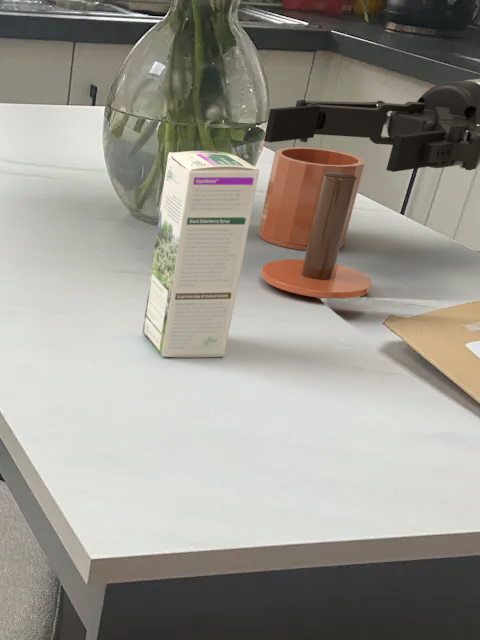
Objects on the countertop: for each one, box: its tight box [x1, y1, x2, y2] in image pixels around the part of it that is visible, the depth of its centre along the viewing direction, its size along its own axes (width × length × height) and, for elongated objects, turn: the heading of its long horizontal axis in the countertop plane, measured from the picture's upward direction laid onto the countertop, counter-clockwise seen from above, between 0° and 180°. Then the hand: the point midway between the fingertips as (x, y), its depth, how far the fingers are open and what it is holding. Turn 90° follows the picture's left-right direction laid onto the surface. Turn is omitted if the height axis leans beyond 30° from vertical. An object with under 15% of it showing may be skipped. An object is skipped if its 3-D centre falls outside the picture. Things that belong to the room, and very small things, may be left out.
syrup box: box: [141, 150, 260, 359], centre depth 85 cm, size 6×6×14 cm
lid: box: [260, 172, 373, 299], centre depth 102 cm, size 11×11×10 cm
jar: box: [258, 146, 366, 251], centre depth 117 cm, size 9×9×8 cm
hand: (329, 139), depth 95 cm, fingers open, 13 cm apart
